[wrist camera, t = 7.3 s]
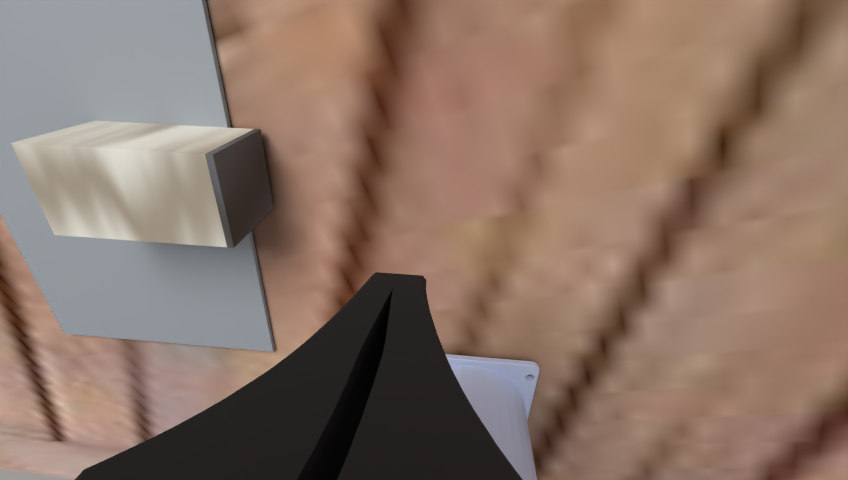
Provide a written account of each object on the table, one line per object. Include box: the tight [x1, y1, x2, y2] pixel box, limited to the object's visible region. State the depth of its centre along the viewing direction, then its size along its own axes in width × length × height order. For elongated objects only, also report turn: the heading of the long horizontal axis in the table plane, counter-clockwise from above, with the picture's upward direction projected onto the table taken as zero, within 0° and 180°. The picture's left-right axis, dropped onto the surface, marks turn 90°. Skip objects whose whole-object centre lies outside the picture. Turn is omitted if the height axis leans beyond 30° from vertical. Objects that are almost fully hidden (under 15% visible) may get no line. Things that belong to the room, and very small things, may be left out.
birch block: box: [11, 121, 274, 248], centre depth 18 cm, size 4×4×8 cm
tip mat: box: [0, 0, 275, 352], centre depth 20 cm, size 24×14×1 cm, turn 178°
